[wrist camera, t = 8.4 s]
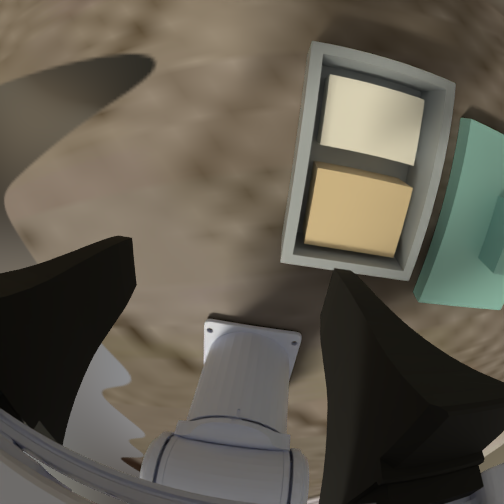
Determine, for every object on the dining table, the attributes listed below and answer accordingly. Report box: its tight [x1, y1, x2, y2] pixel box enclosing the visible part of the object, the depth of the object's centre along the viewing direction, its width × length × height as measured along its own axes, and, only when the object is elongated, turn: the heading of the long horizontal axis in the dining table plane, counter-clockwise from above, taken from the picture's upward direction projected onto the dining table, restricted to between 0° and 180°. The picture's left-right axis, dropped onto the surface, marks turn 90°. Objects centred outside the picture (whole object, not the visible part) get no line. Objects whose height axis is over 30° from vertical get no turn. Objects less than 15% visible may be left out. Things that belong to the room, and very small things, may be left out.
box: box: [280, 41, 456, 281], centre depth 16 cm, size 12×8×4 cm, turn 174°
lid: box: [413, 118, 504, 310], centre depth 16 cm, size 14×10×4 cm
